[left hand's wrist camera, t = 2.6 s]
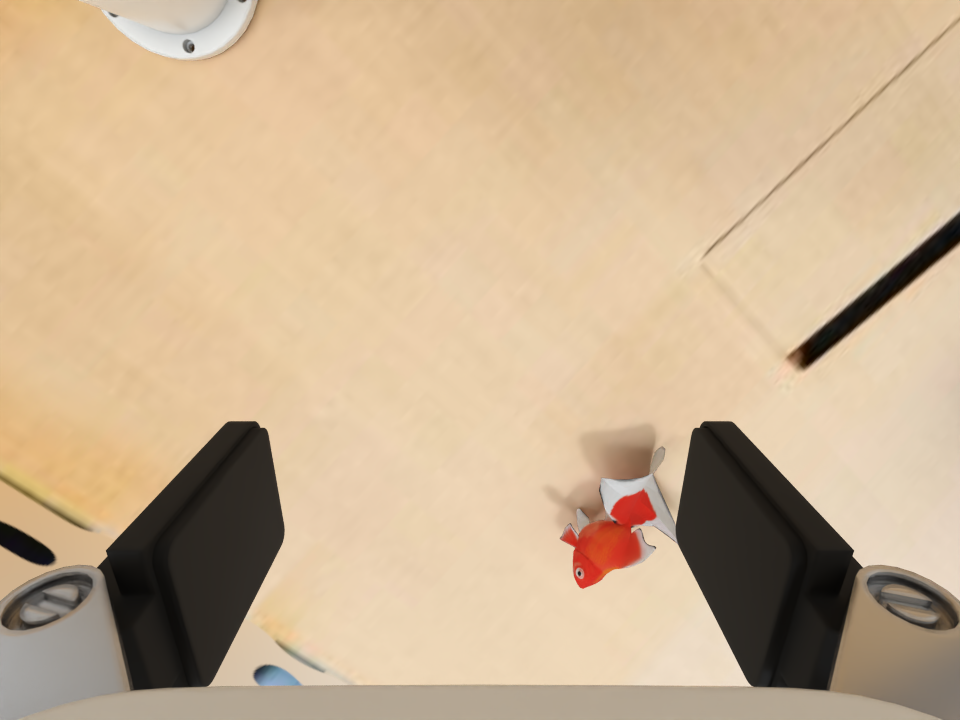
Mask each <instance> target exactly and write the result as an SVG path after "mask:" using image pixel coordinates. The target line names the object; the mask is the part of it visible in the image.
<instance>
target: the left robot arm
mask: <svg viewBox="0 0 960 720" xmlns="http://www.w3.org/2000/svg"><path fill="white" fill-rule="evenodd" d="M79 1H82V2H84V3H87V4H90V5H92V6H95V7H97V8H100V9H101V10H102V12H103V13H104V15H105V16H106V17H107V18H108V19H109V20H110V21H111V22H112V23H113V25H114V26H115V27H116V28H117V29H118V30H119V31H121V32H122V33H123V34H124V35H125V36H127V37H128V38H129V39H130V40H131V41H133V42H135V43H136V44H138V45H140V46H141V47H143V48H145V49H147V50H148V51H151V52H154V53H156V54H159V55H162V56H165V57H169V58H173V59H177V60H190V61H195V60H201V59H207V58H211V57H213V56H215V55H218V54H220V53H222V52H224V51H225V50H227V49H228V48H229V47H231V46H232V45H233V44H235V43H236V41H237V40H238V39H239V38H240V37H241V36H242V34H243V33H244V32H245V31H246V29H247V27H248V25H249V23H250V21H251V19H252V17H253V15H254V11H255V8H256V5H257V1H258V0H246V1H245V2H244V0H79ZM193 45H194V46H195V49H194V51H193V50H192V46H193ZM284 530H285V529H284V522H283V516H282V510H281V504H280V499H279V493H278V487H277V481H276V476H275V470H274V464H273V458H272V453H271V447H270V441H269V435H268V432H267V430H266V429H265V428H260V426H259V424H258V423H257V422H256V421H230V422H227V423H226V424H225V425H224V426H223V427H222V428H221V429H220V430H219V431H218V432H217V433H216V434H215V435H214V436H213V437H212V439H211V440H210V441H209V442H208V443H207V444H206V445H205V446H204V447H203V448H202V449H201V450H200V451H199V452H198V453H197V454H196V456H195V457H194V458H193V459H192V460H191V461H190V462H189V463H188V464H187V465H186V466H185V467H184V468H183V469H182V470H181V471H180V472H179V474H178V475H177V476H176V477H175V478H174V479H173V480H172V481H171V482H170V483H169V484H168V485H167V486H166V487H165V488H164V489H163V491H162V492H161V493H160V494H159V495H158V496H157V497H156V498H155V499H154V500H153V501H152V502H151V503H150V504H149V505H148V506H147V508H146V509H145V510H144V511H143V512H142V513H141V514H140V515H139V516H138V517H137V518H136V519H135V520H134V521H133V522H132V523H131V524H130V526H129V527H128V528H127V529H126V530H125V531H124V532H123V533H122V534H121V535H120V536H119V537H118V538H117V539H116V540H115V541H114V543H113V544H112V545H111V546H110V547H109V548H108V549H107V550H106V552H107V555H108V556H107V558H106V559H105V560H104V561H103V562H102V563H101V564H100V565H99V566H98V567H97V568H95V567H93V566H88V565H75V566H68V567H63V568H59V569H56V570H53V571H49V572H46V573H44V574H42V575H40V576H37V577H35V578H33V579H31V580H29V581H27V582H26V583H24V584H22V585H21V586H19V587H17V588H16V589H14V590H13V591H11V592H10V593H9V594H8V595H7V596H6V597H4V598H3V599H2V600H1V601H0V720H960V601H959V600H958V599H957V598H956V597H954V596H953V595H952V594H951V593H950V592H949V591H947V590H946V589H944V588H943V587H941V586H939V585H938V584H936V583H934V582H933V581H931V580H929V579H927V578H925V577H923V576H920V575H918V574H916V573H914V572H911V571H907V570H904V569H901V568H898V567H892V566H885V565H872V566H867V567H865V568H863V567H862V566H861V565H860V564H859V563H858V562H857V561H856V560H855V559H854V558H853V556H852V555H853V552H854V550H853V549H852V548H851V547H850V546H849V545H848V544H847V543H846V541H845V540H844V539H843V538H842V537H841V536H840V535H839V534H838V533H837V532H836V531H835V530H834V529H833V528H832V527H831V526H830V524H829V523H828V522H827V521H826V520H825V519H824V518H823V517H822V516H821V515H820V514H819V513H818V512H817V511H816V510H815V509H814V508H813V506H812V505H811V504H810V503H809V502H808V501H807V500H806V499H805V498H804V497H803V496H802V495H801V494H800V493H799V492H798V491H797V489H796V488H795V487H794V486H793V485H792V484H791V483H790V482H789V481H788V480H787V479H786V478H785V477H784V476H783V475H782V474H781V472H780V471H779V470H778V469H777V468H776V467H775V466H774V465H773V464H772V463H771V462H770V461H769V460H768V459H767V458H766V457H765V456H764V454H763V453H762V452H761V451H760V450H759V449H758V448H757V447H756V446H755V445H754V444H753V443H752V442H751V441H750V440H749V439H748V437H747V436H746V435H745V434H744V433H743V432H742V431H741V430H740V429H739V428H738V427H737V426H736V425H735V424H734V423H733V422H730V421H704V422H703V423H702V424H701V426H700V428H695V429H694V430H693V432H692V435H691V441H690V447H689V453H688V458H687V464H686V470H685V476H684V481H683V487H682V493H681V499H680V504H679V510H678V516H677V522H676V529H675V530H676V539H677V543H678V545H679V547H680V549H681V551H682V553H683V555H684V557H685V559H686V561H687V563H688V565H689V567H690V569H691V571H692V573H693V575H694V577H695V579H696V581H697V583H698V585H699V587H700V589H701V591H702V593H703V595H704V597H705V599H706V600H707V602H708V604H709V606H710V608H711V610H712V612H713V614H714V616H715V618H716V620H717V622H718V624H719V626H720V628H721V630H722V632H723V634H724V636H725V638H726V640H727V642H728V644H729V646H730V648H731V650H732V652H733V654H734V656H735V658H736V660H737V662H738V664H739V666H740V668H741V670H742V671H743V673H744V675H745V677H746V679H747V681H748V682H749V684H750V685H751V686H753V687H740V686H623V685H340V686H339V685H337V686H220V687H207V686H209V685H210V684H211V682H212V681H213V679H214V677H215V675H216V673H217V671H218V669H219V667H220V665H221V664H222V662H223V660H224V658H225V656H226V654H227V652H228V650H229V648H230V646H231V644H232V642H233V640H234V638H235V636H236V634H237V632H238V630H239V628H240V626H241V624H242V622H243V620H244V618H245V616H246V614H247V612H248V610H249V608H250V606H251V604H252V602H253V600H254V599H255V597H256V595H257V593H258V591H259V589H260V587H261V585H262V583H263V581H264V579H265V577H266V575H267V573H268V571H269V569H270V567H271V565H272V563H273V561H274V559H275V557H276V555H277V553H278V551H279V549H280V547H281V545H282V543H283V539H284Z"/></svg>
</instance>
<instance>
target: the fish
mask: <svg viewBox="0 0 960 720" xmlns="http://www.w3.org/2000/svg"><path fill="white" fill-rule="evenodd" d="M664 455H665V448H664V447H660V448H659V449H658V450H657V451H656V452H655V454H654V457H653V460H652V464H651V467H650V472H649V475H647V476H645V477H642V478H636V479H629V480H614V479H606V478H601V483H600V488H599V492H600V495H601V498H602V501H603V504H604V507H605V510H606V517H605V520H598V521H594V522H591V523H589V518H588V517H587V515H585V514H584V513H583V512H582V511H581V510H580V509H577V524H578V529H579V532H580V533H579V535H578V534H577V533H576V531H575V530H574V529H573V527H572V525H571V524H568V526H567V527H566V528H565V530H564V532H563V535H562V536H561V537H560V539H561V540H562V541H564V542H566V543H568V544H570V545H571V546H573V547H575V550H574V553H573V574H574V577H575V580H576V582H577V584H578V585H579V587H580V588H582V589H583V588H586V587H588V586H591V585H593V584H596V583H597V582H599V581H600V580H602V578H603V577H604V576H605V575H606V574H607V573H609V572H610V571H612V570H614V569H621V568H627V567H631V566H635V565H637V564H639V563H642V562H643V561H644V560H646V559H647V558H648V557H649V556H650V555H651V554H652V553H653V551H654V550H655V549H656V547H655V546H650V545H648V544H647V543H646V542H645V540H644V537H643V533H642V530H641V529H640V528H639V529H637V530H635V531H634V532H633V533H631V528H632V527H636V526H639V525H642V526H655V527H656V528H657V529H659V530H660V531H662V532H663V533H664V534H666V535H667V536H668V537H670V538H671V539H672V540H673V541H675V542H676V543H677V539H676V530H675V529H676V526H675V522H674V520H673V518H672V516H671V513H670V511H669V509H668V507H667V505H666V502H665V500H664V498H663V496H662V494H661V492H660V489H659V487H658V485H657V483H656V481H655V478H654V475H653V473H654V472H655V471H656V469H657V468H658V467H659V466H660V464H661V462H662V461H663V459H664ZM677 544H678V543H677Z"/></svg>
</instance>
